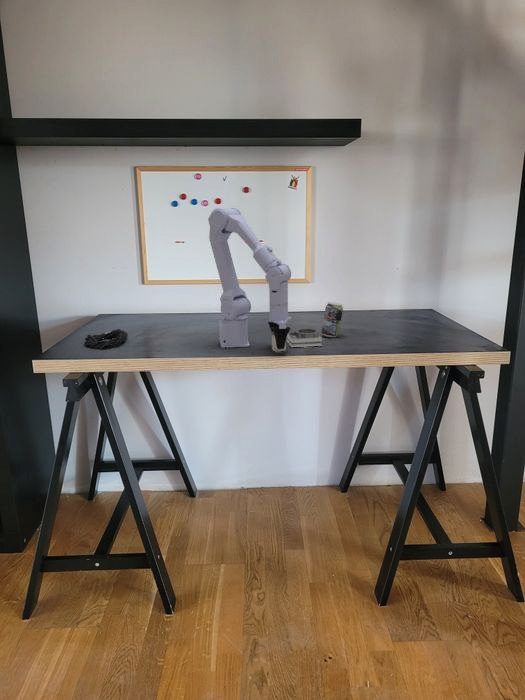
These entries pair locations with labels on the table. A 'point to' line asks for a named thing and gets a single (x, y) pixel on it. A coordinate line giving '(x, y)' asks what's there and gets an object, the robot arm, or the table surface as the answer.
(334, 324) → the beverage can
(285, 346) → the lens
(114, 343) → the cable
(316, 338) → the square housing with collar
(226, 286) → the robot arm
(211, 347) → the table surface
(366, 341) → the table surface
